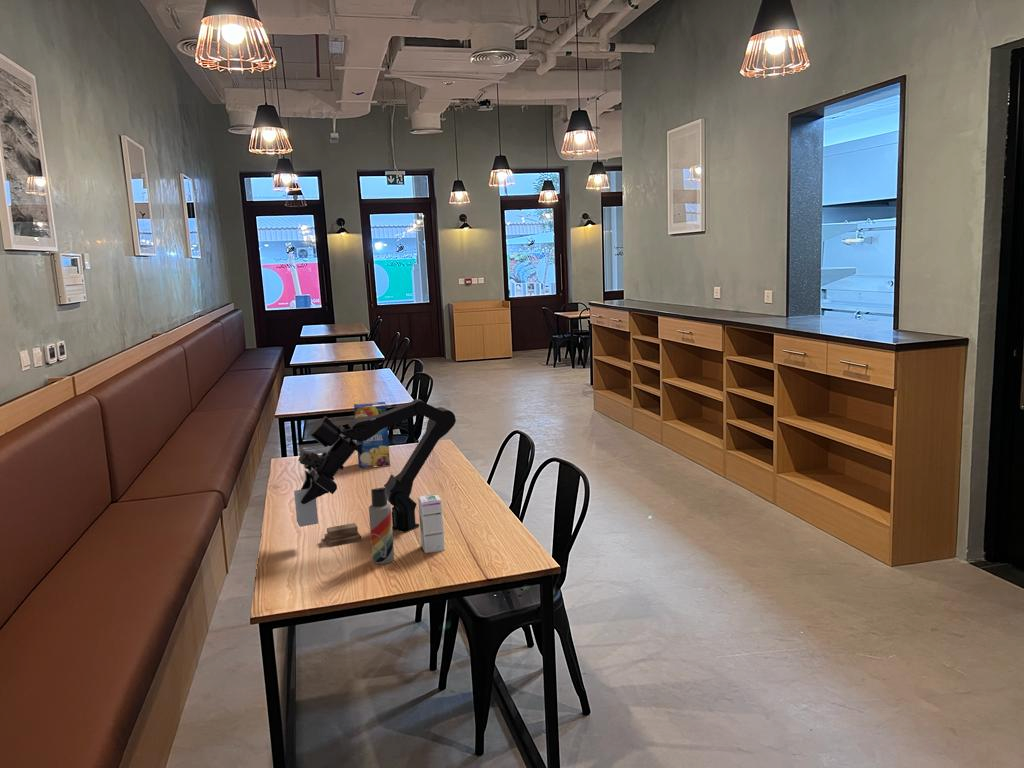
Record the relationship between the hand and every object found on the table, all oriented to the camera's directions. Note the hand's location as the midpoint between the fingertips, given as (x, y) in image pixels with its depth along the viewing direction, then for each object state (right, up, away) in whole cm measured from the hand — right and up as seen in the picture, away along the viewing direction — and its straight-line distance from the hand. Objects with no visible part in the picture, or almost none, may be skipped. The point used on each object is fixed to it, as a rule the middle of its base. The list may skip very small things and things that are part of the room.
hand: (300, 500), depth 207 cm
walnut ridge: (+10, -12, +7) cm, 17 cm away
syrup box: (+37, -13, -2) cm, 39 cm away
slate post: (+2, -6, +2) cm, 7 cm away
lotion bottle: (+25, -15, -10) cm, 30 cm away
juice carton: (+5, +1, +85) cm, 85 cm away
